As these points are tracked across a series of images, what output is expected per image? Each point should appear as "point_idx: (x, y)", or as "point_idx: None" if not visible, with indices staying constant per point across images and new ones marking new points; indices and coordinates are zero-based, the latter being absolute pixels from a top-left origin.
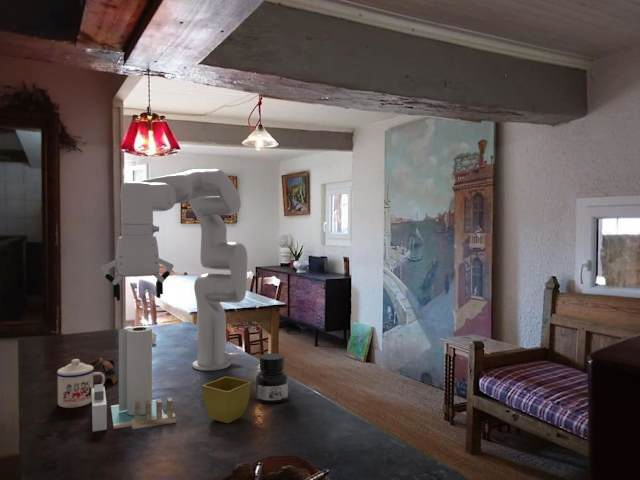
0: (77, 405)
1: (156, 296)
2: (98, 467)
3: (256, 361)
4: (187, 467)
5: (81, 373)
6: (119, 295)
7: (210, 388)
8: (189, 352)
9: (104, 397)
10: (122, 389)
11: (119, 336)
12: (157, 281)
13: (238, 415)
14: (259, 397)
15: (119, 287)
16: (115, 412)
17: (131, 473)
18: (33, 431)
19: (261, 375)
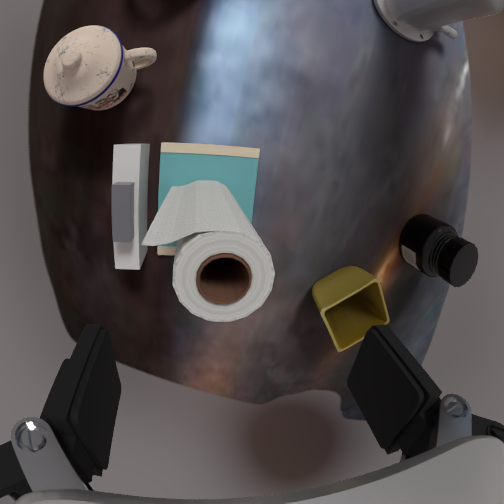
0: (103, 109)
1: (362, 342)
2: (142, 359)
3: (465, 49)
4: (235, 389)
5: (87, 100)
6: (113, 412)
7: (326, 326)
8: None
9: (135, 226)
10: (175, 194)
11: (148, 234)
12: (407, 434)
13: (345, 302)
14: (403, 249)
15: (106, 459)
16: (165, 185)
17: (178, 382)
18: (44, 207)
19: (429, 259)
